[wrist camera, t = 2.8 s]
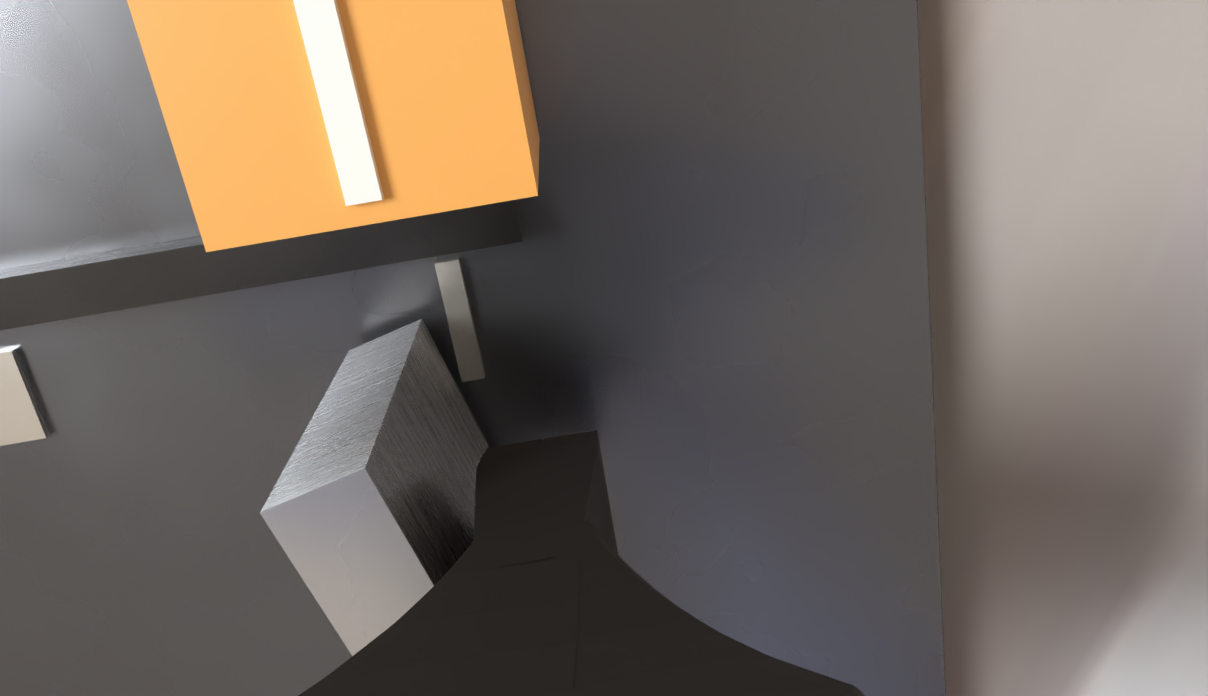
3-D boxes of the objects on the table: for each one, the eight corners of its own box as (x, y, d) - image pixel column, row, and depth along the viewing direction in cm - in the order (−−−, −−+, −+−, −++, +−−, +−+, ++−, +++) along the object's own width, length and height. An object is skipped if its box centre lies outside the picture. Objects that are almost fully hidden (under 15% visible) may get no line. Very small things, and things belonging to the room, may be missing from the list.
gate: (637, 727, 14) (671, 989, 10) (576, 751, 14) (587, 1020, 11) (421, 318, 12) (365, 468, 8) (348, 350, 12) (259, 512, 8)
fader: (539, 137, 11) (538, 197, 8) (304, 177, 11) (202, 255, 8) (492, -125, 10) (467, -183, 7) (235, -80, 10) (84, -118, 7)
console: (928, 782, 17) (1079, 1091, 12) (16, 937, 17) (-191, 1308, 12) (872, -284, 11) (1116, -489, 6) (-500, -51, 11) (-1270, -85, 6)
